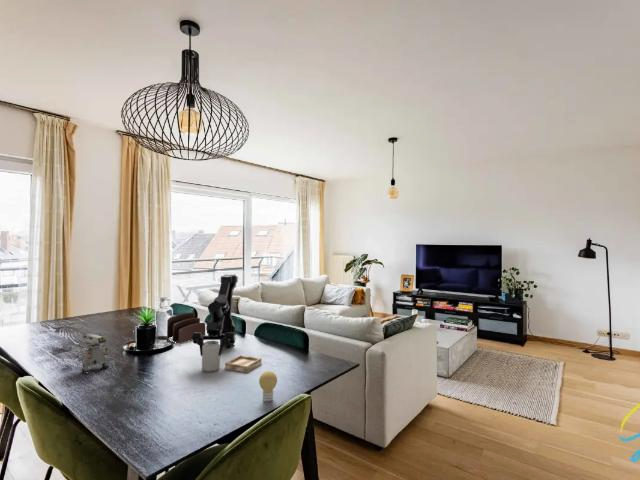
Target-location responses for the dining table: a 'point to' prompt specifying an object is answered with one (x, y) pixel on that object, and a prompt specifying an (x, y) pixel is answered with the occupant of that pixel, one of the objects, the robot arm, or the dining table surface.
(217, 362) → the can
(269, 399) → the light bulb
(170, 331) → the letter holder
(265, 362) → the dining table surface
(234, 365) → the wooden tray
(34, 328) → the dining table surface
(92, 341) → the figurine
